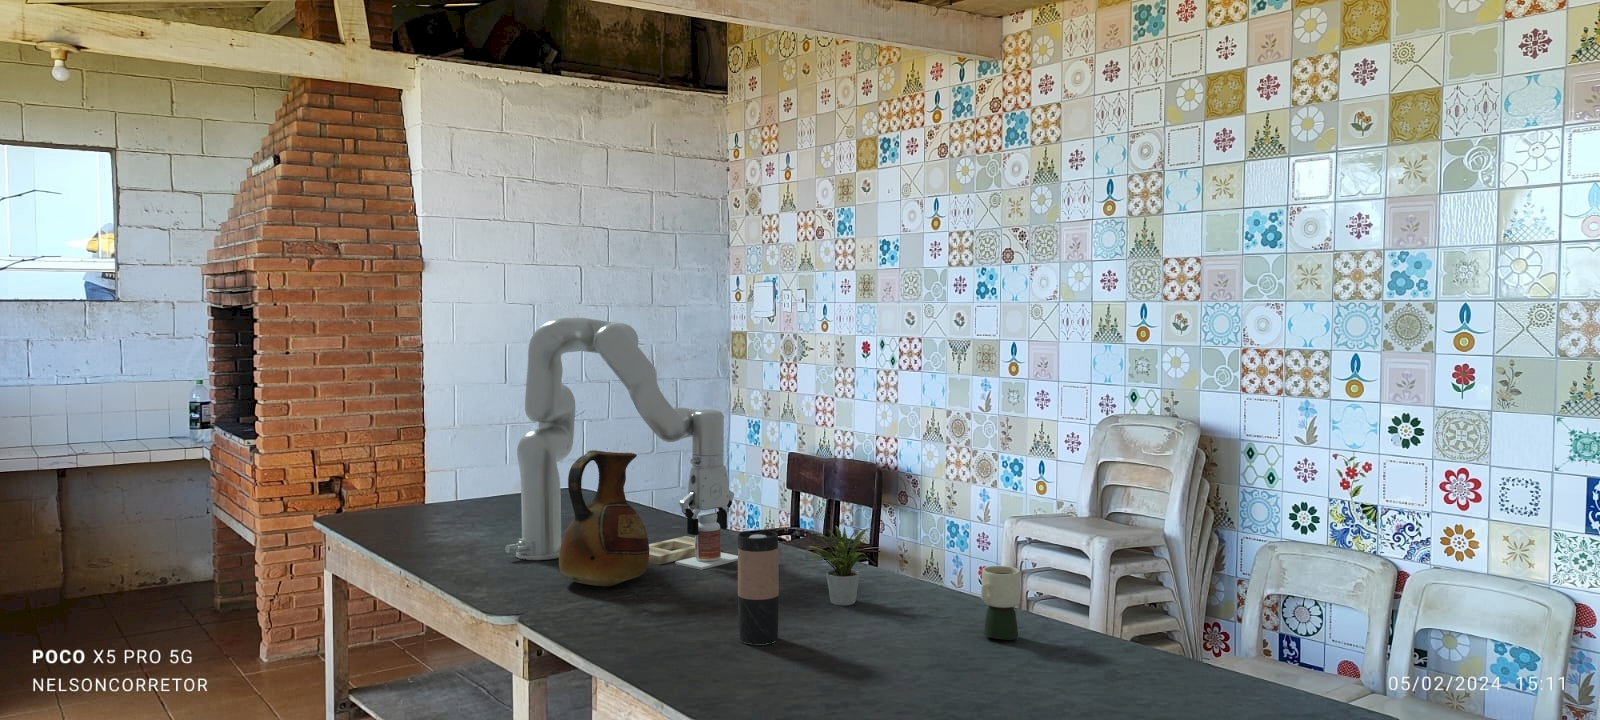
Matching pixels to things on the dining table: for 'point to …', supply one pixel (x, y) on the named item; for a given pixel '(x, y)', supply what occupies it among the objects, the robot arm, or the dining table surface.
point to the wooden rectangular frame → (662, 553)
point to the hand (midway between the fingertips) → (707, 531)
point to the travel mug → (758, 587)
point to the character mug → (1001, 601)
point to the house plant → (842, 567)
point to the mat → (704, 565)
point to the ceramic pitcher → (603, 526)
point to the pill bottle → (708, 538)
